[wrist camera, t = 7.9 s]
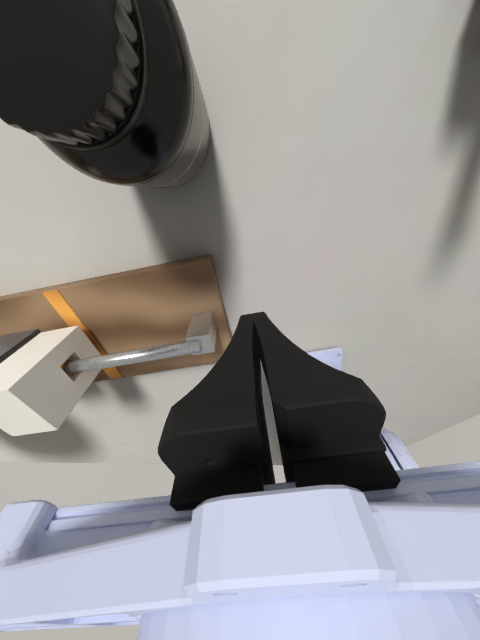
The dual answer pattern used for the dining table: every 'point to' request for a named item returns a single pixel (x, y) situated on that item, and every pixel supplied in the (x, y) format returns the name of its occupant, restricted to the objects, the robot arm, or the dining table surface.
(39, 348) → the sleeve
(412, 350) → the dining table surface
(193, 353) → the rail
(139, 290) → the board
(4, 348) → the block
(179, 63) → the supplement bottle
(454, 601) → the robot arm
